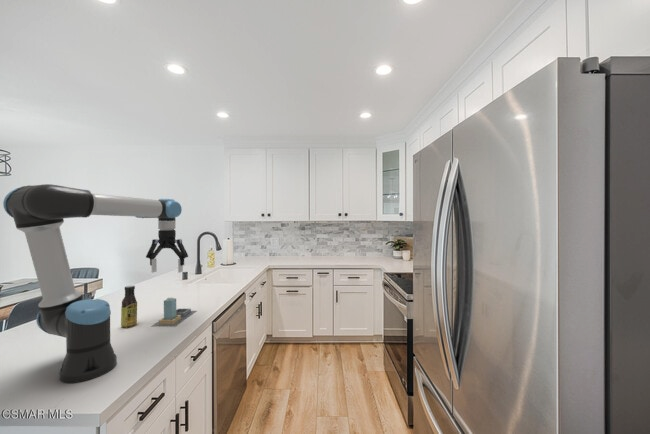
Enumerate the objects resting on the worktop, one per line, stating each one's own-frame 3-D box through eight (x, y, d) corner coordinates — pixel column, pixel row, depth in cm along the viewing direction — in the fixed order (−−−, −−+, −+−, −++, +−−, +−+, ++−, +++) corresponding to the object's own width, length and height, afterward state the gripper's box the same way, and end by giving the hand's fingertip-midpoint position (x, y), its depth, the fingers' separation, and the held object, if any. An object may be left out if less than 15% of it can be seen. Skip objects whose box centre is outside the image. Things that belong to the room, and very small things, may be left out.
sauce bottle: (128, 330, 130) (128, 288, 130) (117, 330, 131) (117, 287, 131) (140, 325, 136) (140, 285, 136) (129, 324, 138) (129, 284, 138)
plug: (172, 323, 136) (171, 299, 136) (163, 323, 137) (163, 299, 136) (176, 320, 140) (176, 296, 140) (168, 320, 141) (168, 296, 140)
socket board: (175, 328, 132) (175, 322, 132) (150, 328, 133) (150, 322, 133) (197, 312, 154) (197, 307, 154) (176, 312, 155) (176, 307, 155)
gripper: (195, 229, 143) (195, 270, 143) (147, 229, 144) (148, 270, 144) (187, 229, 135) (187, 273, 135) (137, 230, 136) (137, 273, 136)
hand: (167, 272), depth 139 cm, fingers open, 13 cm apart
